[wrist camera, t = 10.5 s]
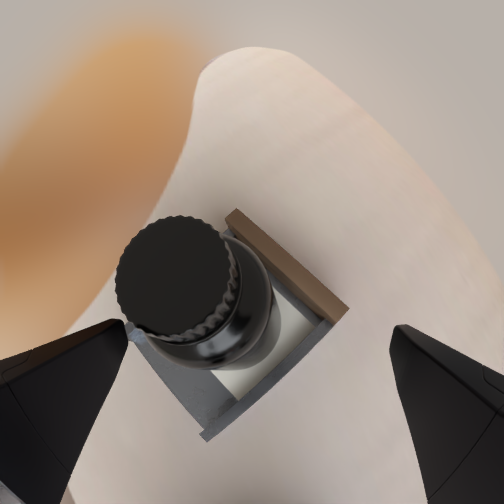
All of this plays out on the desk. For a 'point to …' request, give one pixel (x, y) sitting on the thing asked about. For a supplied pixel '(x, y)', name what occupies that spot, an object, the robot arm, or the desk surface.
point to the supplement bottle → (198, 295)
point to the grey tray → (282, 356)
